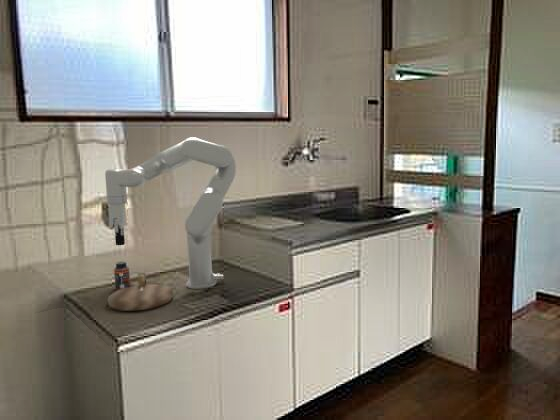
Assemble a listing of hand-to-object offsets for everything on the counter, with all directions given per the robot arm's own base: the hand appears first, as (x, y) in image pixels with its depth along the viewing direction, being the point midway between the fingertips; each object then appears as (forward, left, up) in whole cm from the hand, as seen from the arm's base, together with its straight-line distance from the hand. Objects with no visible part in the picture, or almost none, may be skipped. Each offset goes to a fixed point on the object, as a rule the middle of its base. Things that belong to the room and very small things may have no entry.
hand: (120, 244), depth 189 cm
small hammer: (-7, -1, -20) cm, 21 cm away
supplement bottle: (+1, -3, -20) cm, 20 cm away
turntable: (-7, +15, -20) cm, 26 cm away
